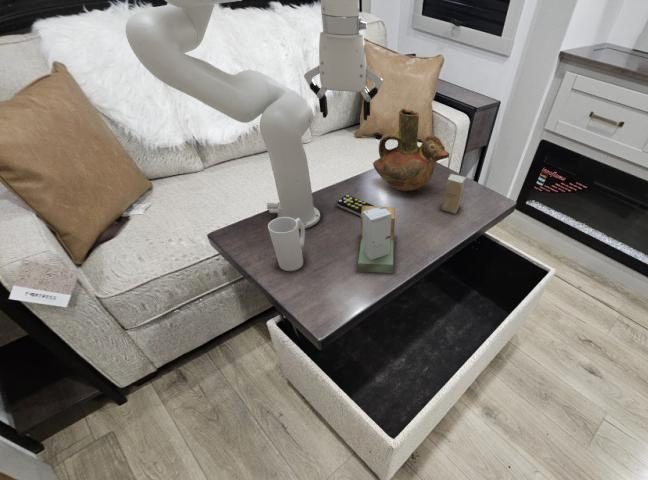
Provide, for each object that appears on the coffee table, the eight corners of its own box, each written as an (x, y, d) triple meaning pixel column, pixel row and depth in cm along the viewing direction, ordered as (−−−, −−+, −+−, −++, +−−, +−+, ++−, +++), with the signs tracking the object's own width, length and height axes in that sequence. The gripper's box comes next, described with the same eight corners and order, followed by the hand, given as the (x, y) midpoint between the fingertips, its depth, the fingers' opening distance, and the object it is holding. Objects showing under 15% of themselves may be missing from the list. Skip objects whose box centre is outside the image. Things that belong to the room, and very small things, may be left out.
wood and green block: (358, 271, 88) (357, 240, 80) (362, 235, 99) (362, 205, 92) (392, 273, 88) (394, 242, 81) (393, 237, 99) (395, 207, 92)
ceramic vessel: (439, 205, 113) (452, 127, 95) (365, 192, 116) (365, 114, 98) (446, 182, 125) (458, 109, 107) (379, 171, 128) (380, 97, 110)
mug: (292, 275, 85) (283, 236, 76) (272, 266, 87) (261, 227, 78) (317, 254, 91) (312, 216, 83) (298, 246, 93) (290, 208, 85)
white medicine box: (370, 261, 86) (370, 220, 78) (362, 251, 89) (361, 211, 80) (390, 253, 89) (392, 213, 80) (381, 244, 91) (383, 205, 83)
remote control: (366, 219, 105) (366, 214, 103) (335, 206, 109) (334, 200, 107) (378, 211, 108) (378, 206, 107) (347, 198, 113) (347, 193, 111)
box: (441, 210, 111) (446, 178, 103) (444, 204, 114) (450, 172, 106) (456, 214, 110) (462, 182, 102) (459, 208, 113) (466, 176, 105)
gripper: (384, 26, 71) (382, 114, 84) (301, 20, 70) (312, 109, 83) (383, 32, 66) (381, 125, 78) (294, 25, 65) (306, 120, 78)
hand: (345, 117), depth 81 cm, fingers open, 9 cm apart
